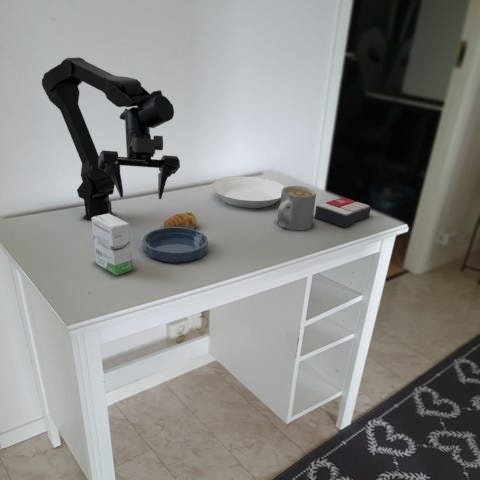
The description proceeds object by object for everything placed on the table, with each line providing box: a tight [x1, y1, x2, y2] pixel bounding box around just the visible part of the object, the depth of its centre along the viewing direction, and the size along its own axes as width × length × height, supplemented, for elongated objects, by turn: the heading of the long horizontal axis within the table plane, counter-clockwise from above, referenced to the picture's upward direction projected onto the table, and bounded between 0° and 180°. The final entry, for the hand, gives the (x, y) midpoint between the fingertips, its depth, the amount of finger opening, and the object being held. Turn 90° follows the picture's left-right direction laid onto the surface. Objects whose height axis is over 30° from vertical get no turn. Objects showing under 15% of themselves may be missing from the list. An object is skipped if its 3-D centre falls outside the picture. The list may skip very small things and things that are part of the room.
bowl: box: [211, 176, 286, 209], centre depth 162 cm, size 25×25×4 cm
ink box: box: [90, 213, 133, 276], centre depth 113 cm, size 9×5×12 cm, turn 46°
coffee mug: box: [277, 185, 317, 231], centre depth 142 cm, size 13×10×10 cm
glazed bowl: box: [142, 227, 209, 264], centre depth 125 cm, size 16×16×3 cm
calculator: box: [314, 197, 372, 228], centre depth 152 cm, size 11×4×15 cm
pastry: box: [162, 211, 198, 230], centre depth 138 cm, size 9×7×4 cm
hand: (141, 198), depth 118 cm, fingers open, 9 cm apart
